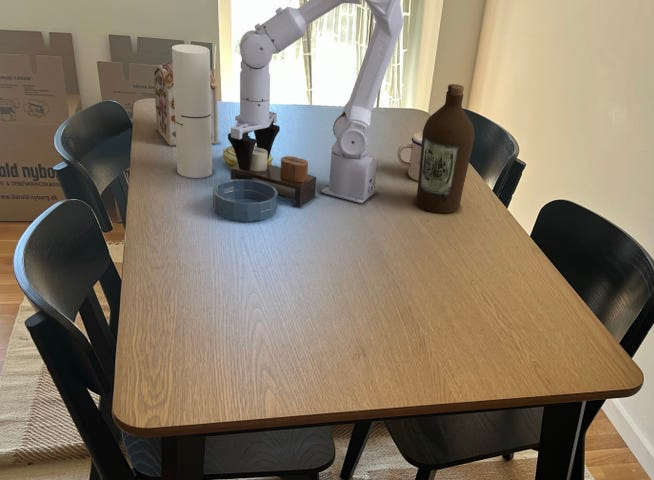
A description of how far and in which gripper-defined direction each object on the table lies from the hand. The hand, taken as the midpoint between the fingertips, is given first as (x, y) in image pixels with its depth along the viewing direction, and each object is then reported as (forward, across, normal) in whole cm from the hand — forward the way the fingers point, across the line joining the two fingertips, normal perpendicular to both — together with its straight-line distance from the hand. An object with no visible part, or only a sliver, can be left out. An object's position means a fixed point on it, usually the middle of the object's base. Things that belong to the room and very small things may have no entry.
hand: (254, 164), depth 155 cm
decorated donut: (+5, -10, -7) cm, 13 cm away
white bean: (0, 0, 0) cm, 0 cm away
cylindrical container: (+5, 0, -14) cm, 15 cm away
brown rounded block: (0, 0, +9) cm, 9 cm away
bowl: (+5, +11, +5) cm, 13 cm away
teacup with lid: (+5, -30, +27) cm, 40 cm away
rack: (+5, 0, +5) cm, 7 cm away
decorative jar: (+5, -17, -28) cm, 33 cm away
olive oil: (+5, -16, +36) cm, 39 cm away
